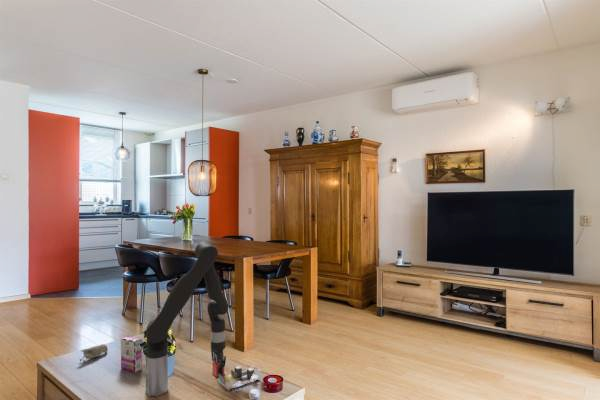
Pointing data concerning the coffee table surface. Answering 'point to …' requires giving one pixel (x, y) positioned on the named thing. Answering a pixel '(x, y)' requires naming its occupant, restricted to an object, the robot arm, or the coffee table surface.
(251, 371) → the toggle
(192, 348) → the coffee table surface
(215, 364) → the cap
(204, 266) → the robot arm
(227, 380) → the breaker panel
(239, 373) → the toggle
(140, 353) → the candy bar box
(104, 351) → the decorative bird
